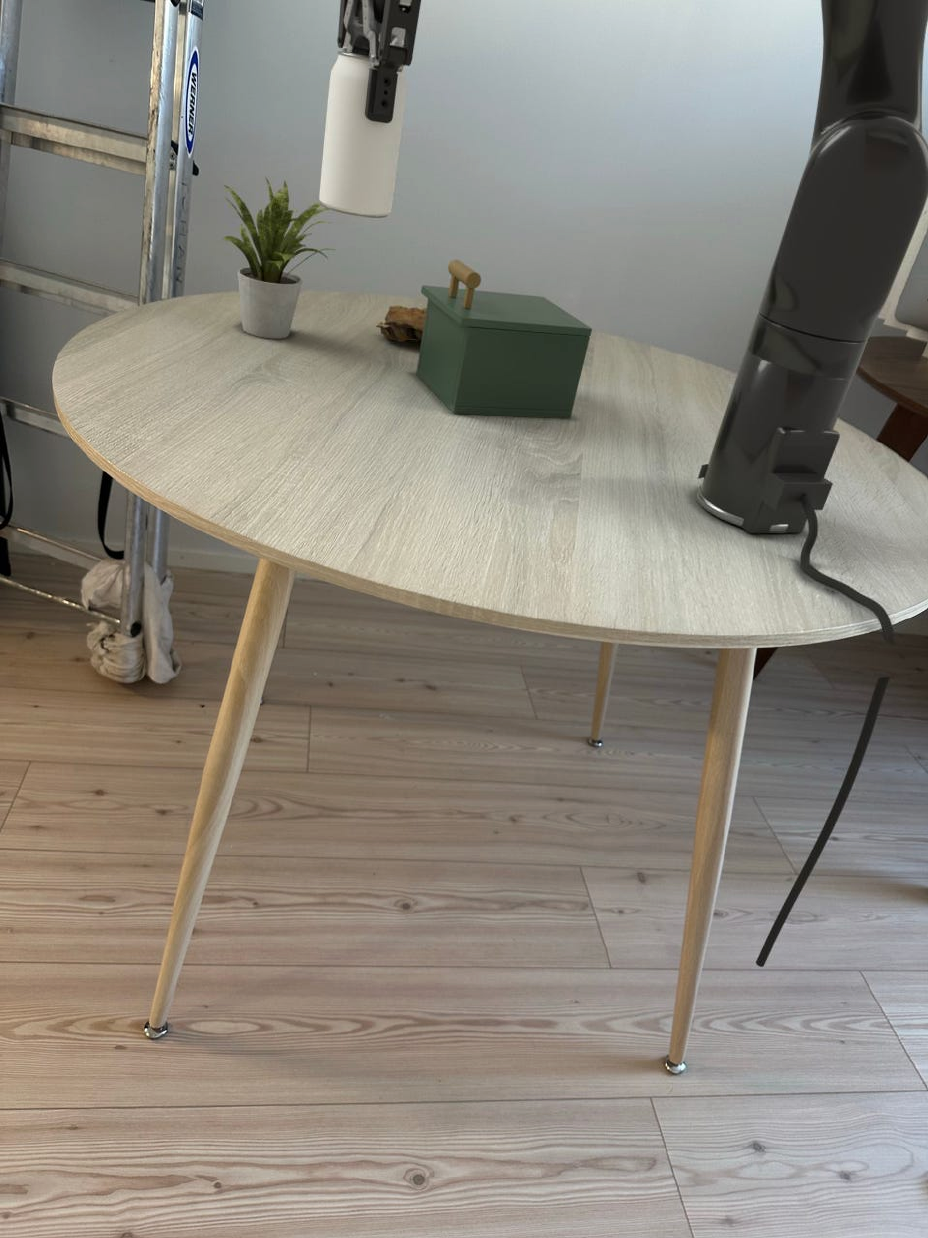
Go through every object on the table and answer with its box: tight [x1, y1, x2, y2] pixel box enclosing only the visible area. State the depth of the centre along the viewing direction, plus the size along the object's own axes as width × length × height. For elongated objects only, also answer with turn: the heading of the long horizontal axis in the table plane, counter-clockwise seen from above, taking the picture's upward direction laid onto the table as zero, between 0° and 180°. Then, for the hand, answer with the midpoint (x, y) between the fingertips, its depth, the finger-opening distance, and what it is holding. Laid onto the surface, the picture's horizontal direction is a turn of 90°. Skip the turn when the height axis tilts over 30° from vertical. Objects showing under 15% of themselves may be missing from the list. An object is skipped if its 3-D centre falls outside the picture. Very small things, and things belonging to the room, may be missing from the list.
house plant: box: [219, 176, 335, 339], centre depth 108 cm, size 14×14×16 cm
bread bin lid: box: [420, 259, 593, 337], centre depth 101 cm, size 14×12×4 cm
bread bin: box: [415, 298, 591, 419], centre depth 105 cm, size 14×12×9 cm
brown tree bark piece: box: [375, 305, 427, 343], centre depth 120 cm, size 11×4×15 cm
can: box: [318, 50, 408, 219], centre depth 85 cm, size 6×6×12 cm
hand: (365, 114), depth 84 cm, fingers closed on can, 6 cm apart
